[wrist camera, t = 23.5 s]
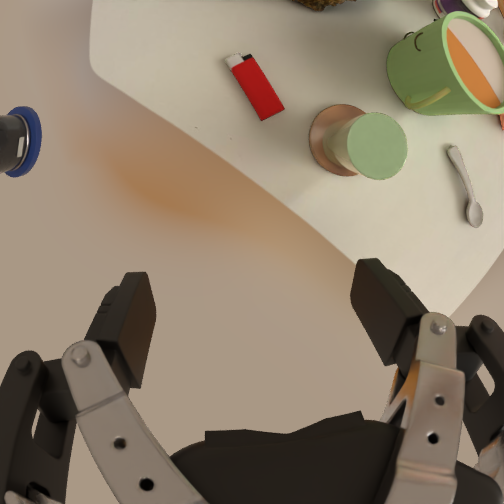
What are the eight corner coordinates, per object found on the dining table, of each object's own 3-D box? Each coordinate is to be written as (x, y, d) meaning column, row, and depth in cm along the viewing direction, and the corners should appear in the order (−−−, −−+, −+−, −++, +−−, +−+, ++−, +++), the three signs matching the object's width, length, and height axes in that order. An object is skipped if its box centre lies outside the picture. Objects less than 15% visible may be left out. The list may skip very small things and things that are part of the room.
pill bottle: (459, 35, 20) (501, 20, 11) (429, 11, 19) (468, -12, 10) (463, 14, 18) (502, -2, 9) (434, -9, 18) (470, -32, 8)
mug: (411, 25, 21) (464, -5, 10) (463, 88, 23) (525, 82, 12) (355, 77, 25) (403, 48, 14) (414, 144, 27) (479, 153, 16)
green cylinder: (378, 148, 27) (419, 153, 19) (344, 178, 29) (374, 193, 20) (347, 109, 26) (380, 99, 17) (311, 140, 27) (332, 139, 19)
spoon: (467, 229, 31) (475, 233, 29) (439, 152, 28) (447, 152, 26) (480, 219, 30) (488, 223, 28) (453, 142, 27) (461, 142, 25)
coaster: (309, 175, 29) (311, 176, 29) (306, 103, 26) (308, 102, 26) (377, 176, 29) (379, 177, 28) (375, 108, 26) (378, 107, 25)
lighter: (260, 120, 26) (223, 59, 24) (260, 121, 27) (224, 62, 25) (285, 108, 26) (247, 47, 23) (284, 109, 27) (247, 50, 24)
